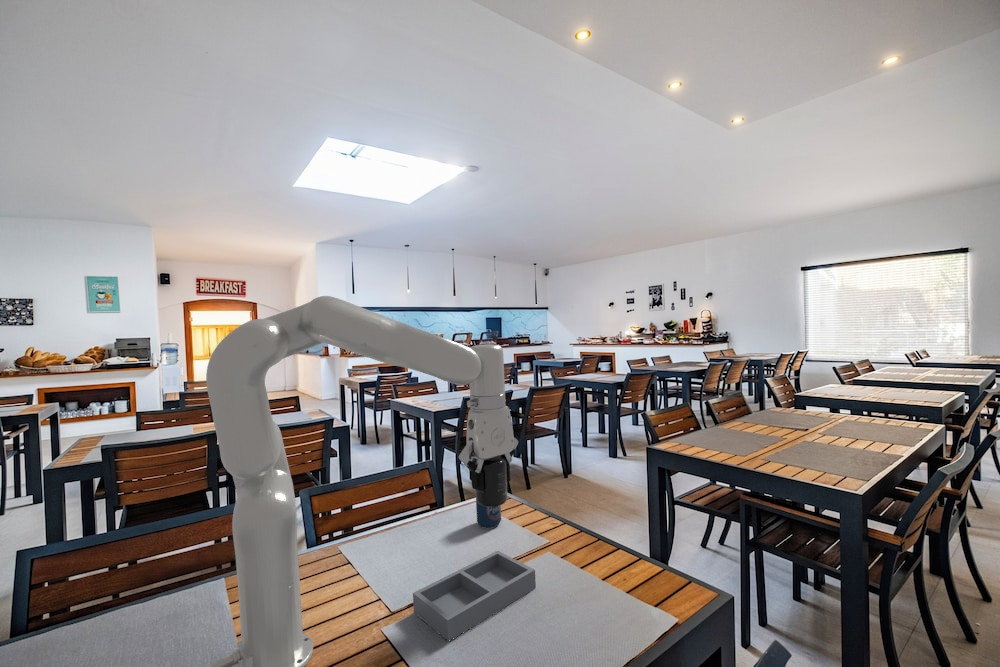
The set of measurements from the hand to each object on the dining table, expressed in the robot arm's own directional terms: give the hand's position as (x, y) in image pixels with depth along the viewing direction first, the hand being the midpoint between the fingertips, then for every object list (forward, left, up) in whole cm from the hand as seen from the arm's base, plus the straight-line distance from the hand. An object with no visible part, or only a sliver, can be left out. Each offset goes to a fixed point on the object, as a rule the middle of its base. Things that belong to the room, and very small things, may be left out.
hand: (491, 484), depth 98 cm
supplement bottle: (0, 0, -4) cm, 4 cm away
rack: (-5, 0, -23) cm, 24 cm away
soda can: (+20, +25, -23) cm, 39 cm away
